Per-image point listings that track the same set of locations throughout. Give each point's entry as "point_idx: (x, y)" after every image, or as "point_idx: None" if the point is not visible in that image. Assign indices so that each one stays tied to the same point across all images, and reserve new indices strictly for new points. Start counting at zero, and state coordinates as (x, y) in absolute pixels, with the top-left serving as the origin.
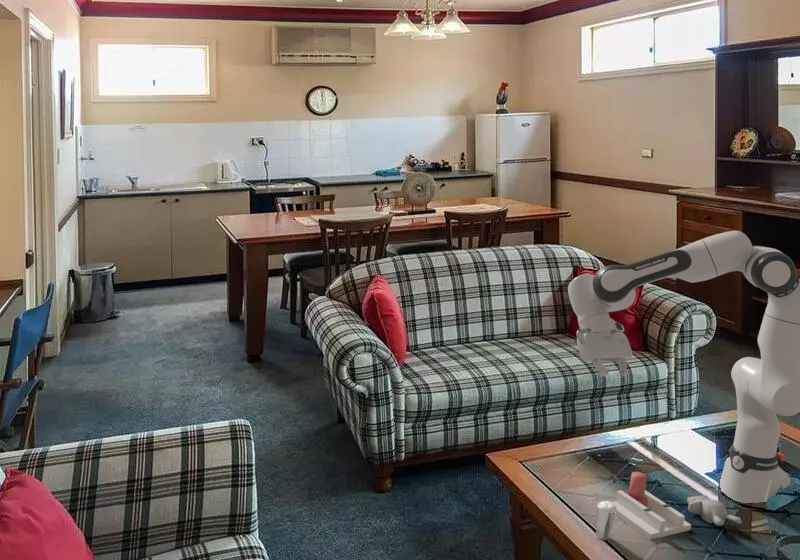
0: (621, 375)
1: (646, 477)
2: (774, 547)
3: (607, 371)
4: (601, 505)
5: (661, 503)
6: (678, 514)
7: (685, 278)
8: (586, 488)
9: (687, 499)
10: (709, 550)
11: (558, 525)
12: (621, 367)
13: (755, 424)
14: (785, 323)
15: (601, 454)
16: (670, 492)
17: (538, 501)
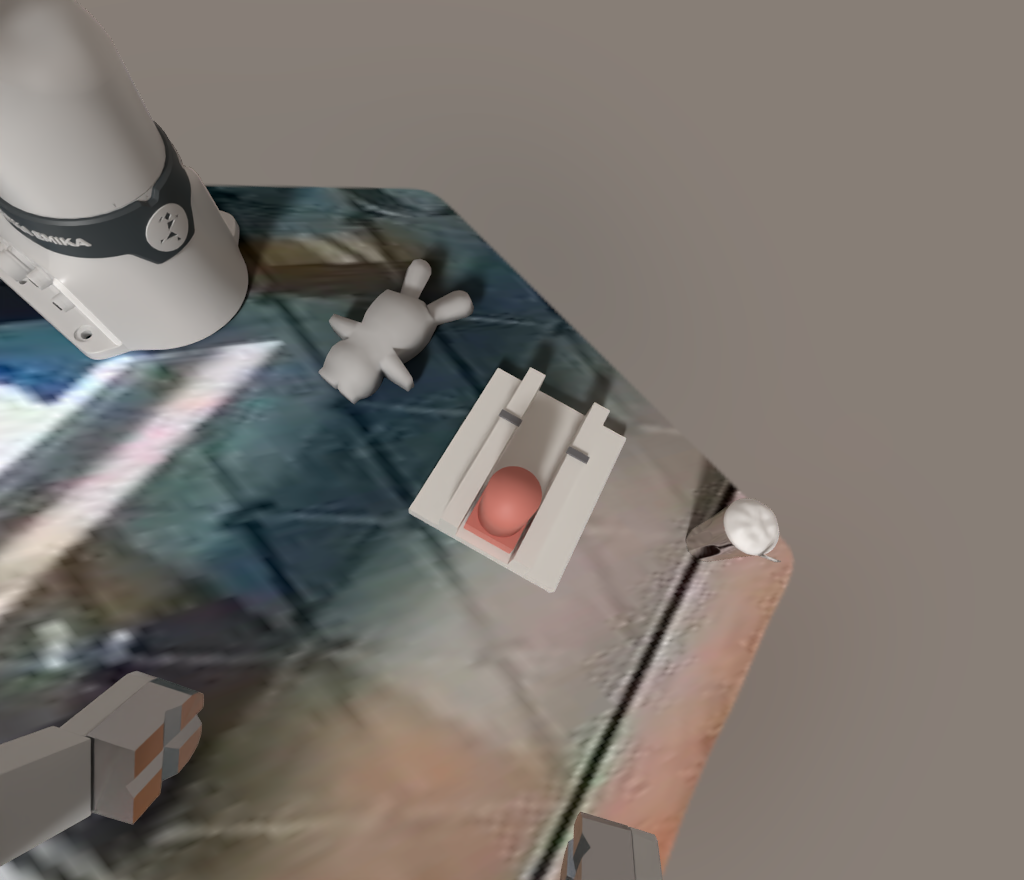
0: (198, 737)
1: (512, 468)
2: (434, 218)
3: (593, 844)
4: (774, 537)
5: (506, 433)
6: (534, 382)
7: None
8: (468, 702)
9: (352, 400)
10: (557, 326)
11: (748, 667)
12: (47, 812)
13: (69, 35)
14: None
15: None
16: (296, 463)
17: (678, 796)
